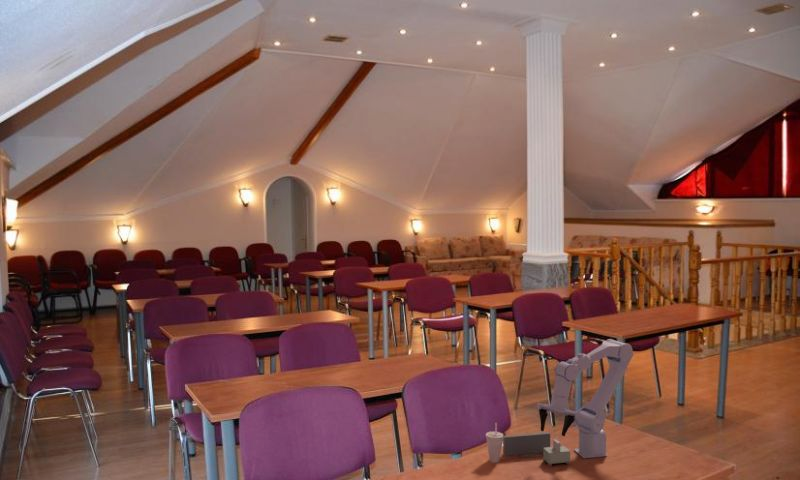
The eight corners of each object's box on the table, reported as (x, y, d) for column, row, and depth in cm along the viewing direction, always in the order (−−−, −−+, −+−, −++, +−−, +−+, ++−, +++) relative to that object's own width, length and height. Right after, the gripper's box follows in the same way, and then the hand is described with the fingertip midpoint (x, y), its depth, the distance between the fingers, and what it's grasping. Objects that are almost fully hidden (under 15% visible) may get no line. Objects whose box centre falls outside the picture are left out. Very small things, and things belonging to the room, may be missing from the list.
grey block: (563, 459, 249) (564, 437, 248) (570, 464, 244) (570, 443, 243) (543, 461, 247) (543, 439, 246) (549, 466, 242) (549, 445, 241)
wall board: (548, 450, 257) (548, 432, 256) (553, 454, 252) (553, 436, 252) (503, 454, 253) (503, 436, 253) (507, 459, 249) (507, 440, 248)
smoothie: (502, 464, 244) (503, 426, 243) (484, 463, 245) (484, 425, 244) (503, 457, 250) (503, 420, 249) (486, 456, 252) (486, 419, 250)
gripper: (542, 393, 241) (534, 431, 241) (583, 402, 241) (575, 440, 240) (539, 389, 248) (531, 426, 248) (578, 398, 248) (570, 435, 247)
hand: (552, 433), depth 244 cm, fingers open, 7 cm apart
